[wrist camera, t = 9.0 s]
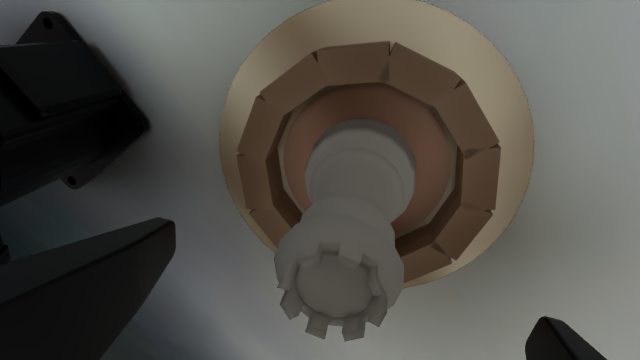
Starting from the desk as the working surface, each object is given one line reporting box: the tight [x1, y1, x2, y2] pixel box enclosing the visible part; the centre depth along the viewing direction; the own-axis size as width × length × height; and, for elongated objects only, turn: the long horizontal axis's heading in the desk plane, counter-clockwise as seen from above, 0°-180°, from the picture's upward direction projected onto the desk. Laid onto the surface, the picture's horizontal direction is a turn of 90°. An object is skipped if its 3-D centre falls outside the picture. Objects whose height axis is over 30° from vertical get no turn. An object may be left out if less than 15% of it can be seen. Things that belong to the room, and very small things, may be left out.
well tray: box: [220, 0, 534, 288], centre depth 15 cm, size 13×13×3 cm
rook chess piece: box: [274, 119, 417, 341], centre depth 12 cm, size 4×4×8 cm
